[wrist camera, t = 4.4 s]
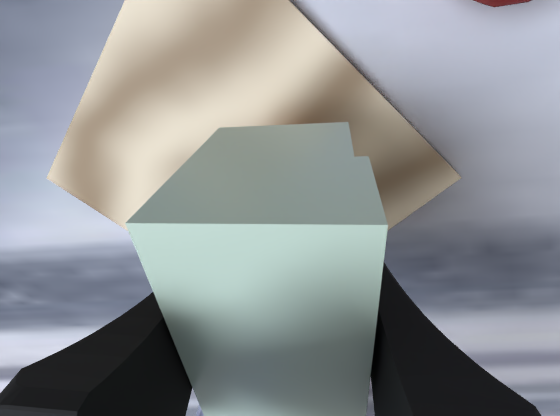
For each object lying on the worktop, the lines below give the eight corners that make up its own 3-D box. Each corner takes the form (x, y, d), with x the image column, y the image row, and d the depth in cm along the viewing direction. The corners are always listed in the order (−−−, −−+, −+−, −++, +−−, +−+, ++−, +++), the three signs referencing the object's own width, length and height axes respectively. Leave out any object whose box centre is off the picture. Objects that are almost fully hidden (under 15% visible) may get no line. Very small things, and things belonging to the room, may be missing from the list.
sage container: (350, 302, 17) (361, 454, 11) (251, 298, 18) (212, 436, 12) (359, 121, 12) (387, 225, 6) (219, 127, 13) (124, 223, 7)
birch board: (455, 170, 19) (461, 177, 18) (265, 310, 28) (264, 319, 27) (184, -108, 14) (175, -116, 13) (56, 172, 23) (46, 178, 22)
